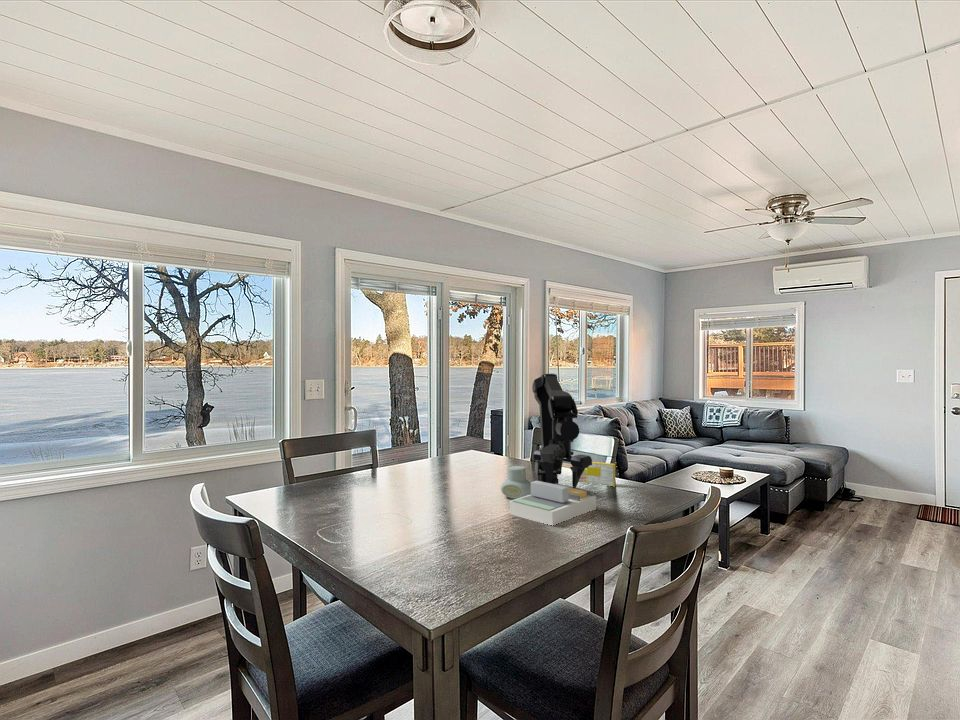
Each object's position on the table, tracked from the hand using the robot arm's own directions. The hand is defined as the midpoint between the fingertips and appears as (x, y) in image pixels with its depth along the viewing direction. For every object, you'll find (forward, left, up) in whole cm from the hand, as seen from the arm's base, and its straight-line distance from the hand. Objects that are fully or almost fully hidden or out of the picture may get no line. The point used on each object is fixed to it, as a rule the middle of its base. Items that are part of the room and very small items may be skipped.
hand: (562, 485), depth 159 cm
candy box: (-10, +34, -8) cm, 36 cm away
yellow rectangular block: (0, +2, -3) cm, 4 cm away
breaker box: (0, -5, -7) cm, 8 cm away
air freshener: (-19, 0, -7) cm, 20 cm away
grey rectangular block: (0, -7, -3) cm, 7 cm away
